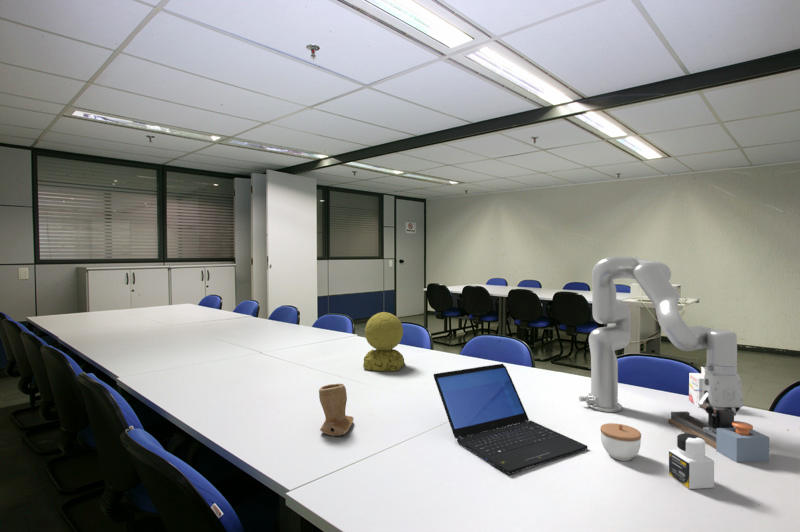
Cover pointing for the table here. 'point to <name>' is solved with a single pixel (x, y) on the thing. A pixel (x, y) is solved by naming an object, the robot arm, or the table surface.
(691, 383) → the ink cartridge box
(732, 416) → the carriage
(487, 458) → the laptop
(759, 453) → the button housing
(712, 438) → the slide rail track
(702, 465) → the medicine bottle
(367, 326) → the trophy
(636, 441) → the lidded jar
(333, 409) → the tan hollow upright piece
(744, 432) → the button
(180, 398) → the table surface
